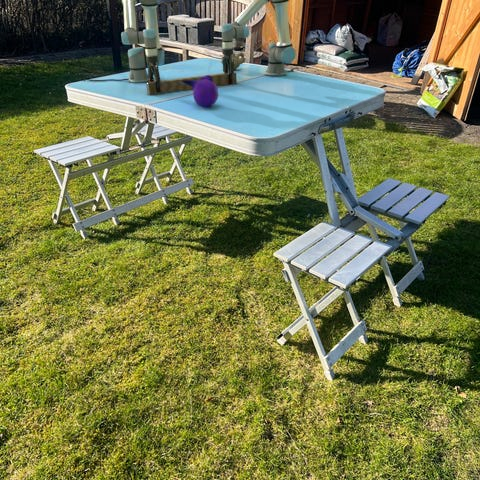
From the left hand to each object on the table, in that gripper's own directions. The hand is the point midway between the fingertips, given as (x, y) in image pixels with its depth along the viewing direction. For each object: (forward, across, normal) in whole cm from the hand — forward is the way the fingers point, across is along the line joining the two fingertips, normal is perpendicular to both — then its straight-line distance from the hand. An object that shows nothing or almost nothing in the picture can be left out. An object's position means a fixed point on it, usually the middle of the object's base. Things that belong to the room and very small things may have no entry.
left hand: (155, 91), depth 301 cm
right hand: (+1, 0, -56) cm, 56 cm away
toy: (+2, -46, -13) cm, 48 cm away
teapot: (+2, +47, -85) cm, 97 cm away
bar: (+2, 0, -28) cm, 28 cm away
